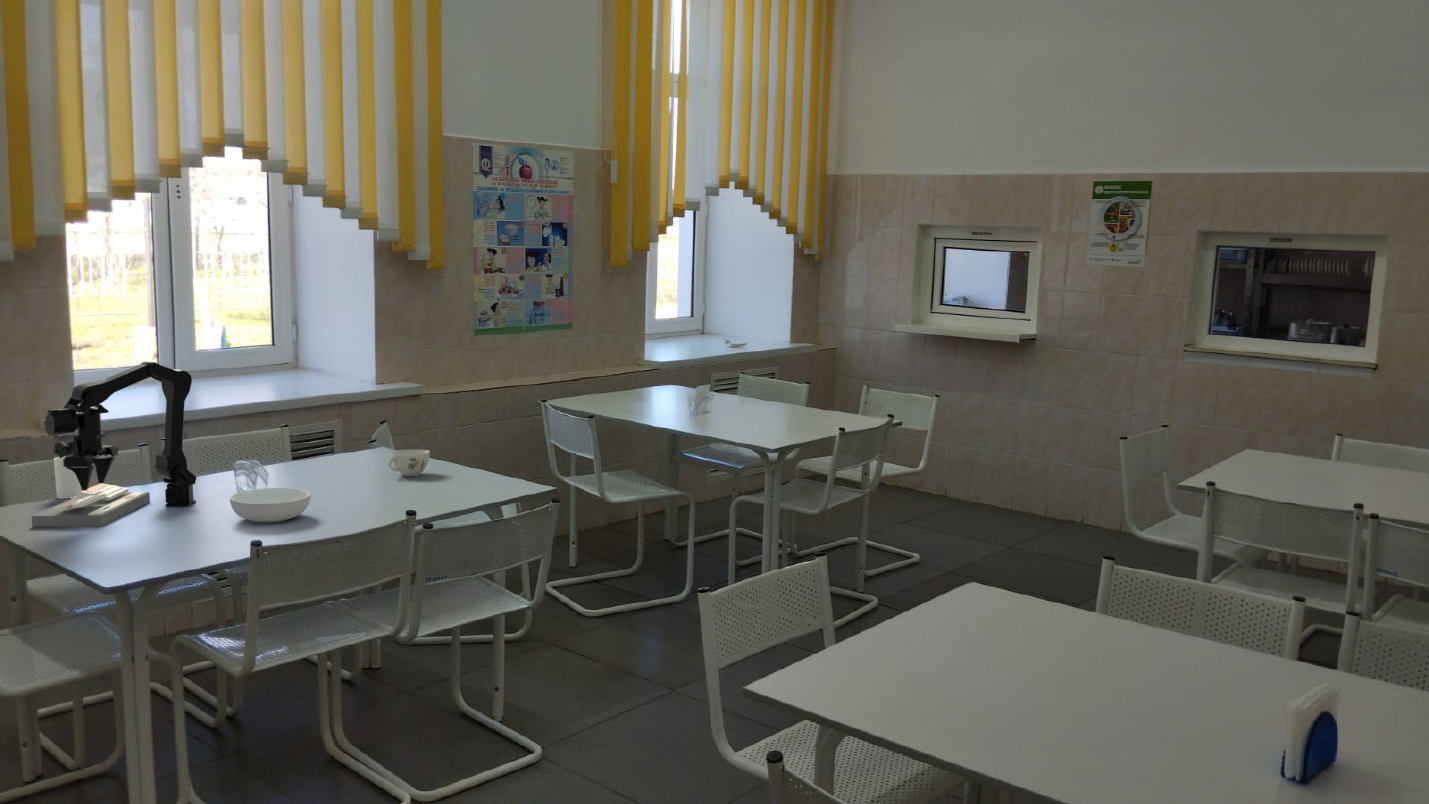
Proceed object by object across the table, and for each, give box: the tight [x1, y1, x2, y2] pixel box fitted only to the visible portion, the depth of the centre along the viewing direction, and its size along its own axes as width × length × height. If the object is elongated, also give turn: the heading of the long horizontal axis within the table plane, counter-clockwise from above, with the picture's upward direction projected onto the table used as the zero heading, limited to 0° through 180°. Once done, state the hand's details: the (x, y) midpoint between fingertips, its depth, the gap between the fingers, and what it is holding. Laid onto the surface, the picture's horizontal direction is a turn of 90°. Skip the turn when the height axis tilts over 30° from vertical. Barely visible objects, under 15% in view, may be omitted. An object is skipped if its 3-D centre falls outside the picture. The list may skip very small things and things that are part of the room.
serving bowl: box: [229, 487, 311, 524], centre depth 312 cm, size 21×21×7 cm
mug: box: [53, 456, 82, 500], centre depth 338 cm, size 10×7×12 cm, turn 156°
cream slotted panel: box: [80, 483, 129, 500], centre depth 322 cm, size 8×12×1 cm, turn 4°
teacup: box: [388, 449, 431, 478], centre depth 375 cm, size 15×12×8 cm
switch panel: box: [31, 491, 151, 528], centre depth 316 cm, size 18×30×4 cm, turn 4°
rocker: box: [54, 493, 106, 512], centre depth 308 cm, size 8×12×1 cm, turn 4°
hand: (93, 486), depth 308 cm, fingers open, 9 cm apart
